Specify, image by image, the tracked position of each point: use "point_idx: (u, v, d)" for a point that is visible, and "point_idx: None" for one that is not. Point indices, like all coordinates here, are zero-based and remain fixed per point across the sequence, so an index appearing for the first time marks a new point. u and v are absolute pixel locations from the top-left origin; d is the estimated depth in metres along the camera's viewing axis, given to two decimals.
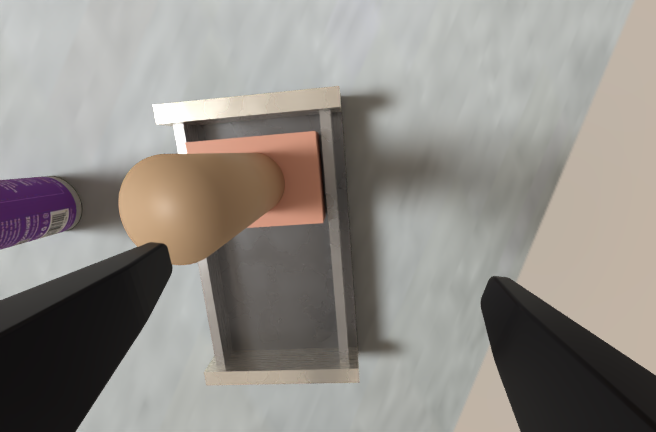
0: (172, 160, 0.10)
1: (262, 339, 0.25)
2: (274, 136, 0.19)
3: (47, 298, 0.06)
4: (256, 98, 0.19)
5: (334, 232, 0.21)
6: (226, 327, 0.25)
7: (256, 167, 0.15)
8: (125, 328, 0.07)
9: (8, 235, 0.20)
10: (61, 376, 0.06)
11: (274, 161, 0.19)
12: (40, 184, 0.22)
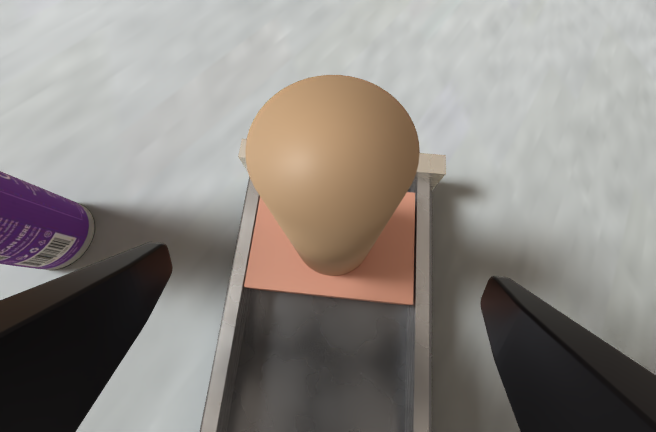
0: (352, 83, 0.07)
1: None
2: None
3: (47, 298, 0.06)
4: None
5: (423, 323, 0.15)
6: None
7: None
8: (125, 328, 0.07)
9: None
10: (61, 376, 0.06)
11: None
12: (63, 200, 0.18)
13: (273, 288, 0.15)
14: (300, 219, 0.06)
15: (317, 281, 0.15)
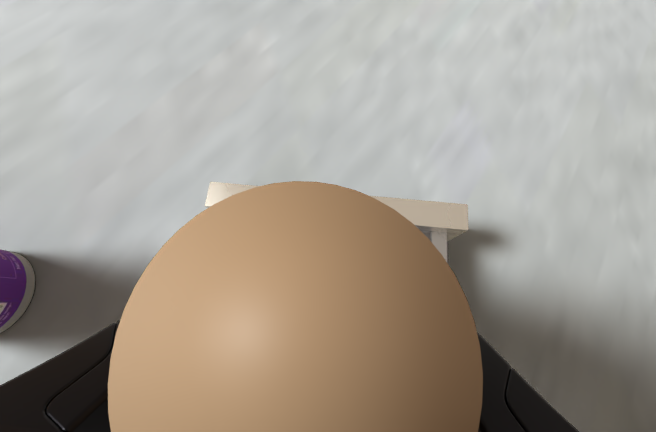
0: (339, 202, 0.04)
1: None
2: None
3: None
4: None
5: None
6: None
7: None
8: None
9: None
10: None
11: None
12: None
13: None
14: None
15: None
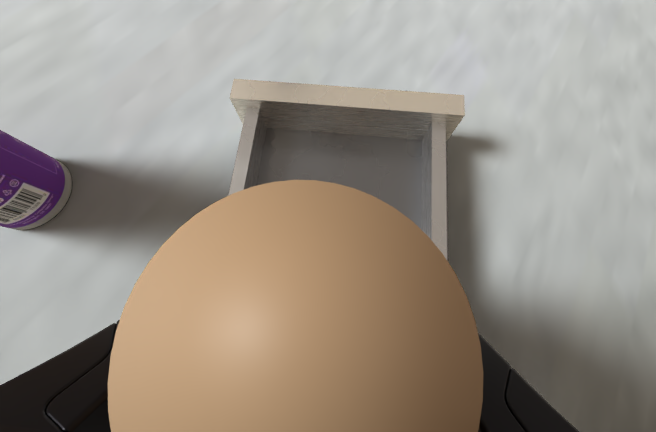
0: (339, 200, 0.04)
1: None
2: None
3: None
4: (362, 91, 0.15)
5: None
6: None
7: None
8: None
9: None
10: None
11: None
12: (34, 150, 0.16)
13: None
14: None
15: None
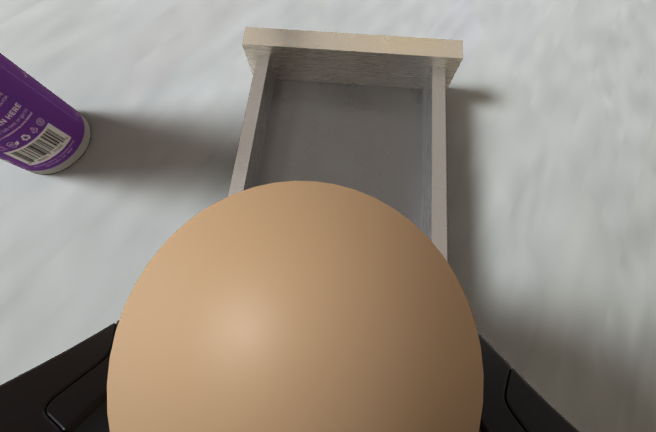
0: (339, 201, 0.04)
1: None
2: None
3: None
4: (366, 38, 0.16)
5: (440, 205, 0.14)
6: None
7: None
8: None
9: None
10: None
11: None
12: (57, 96, 0.17)
13: None
14: None
15: None
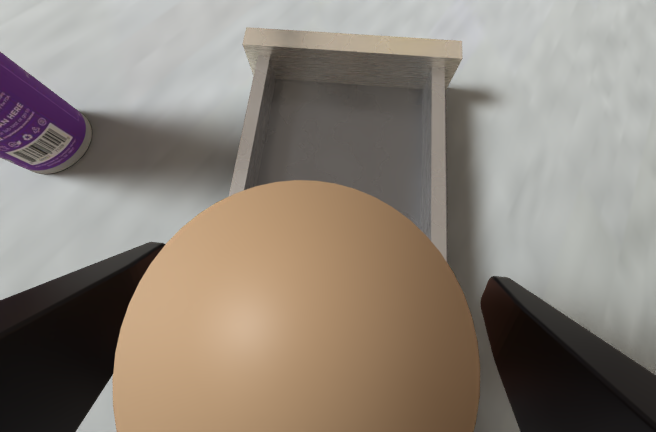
0: (339, 200, 0.04)
1: None
2: None
3: (47, 298, 0.06)
4: (366, 38, 0.17)
5: (439, 205, 0.14)
6: None
7: None
8: None
9: None
10: (61, 376, 0.06)
11: None
12: (58, 96, 0.18)
13: None
14: None
15: None
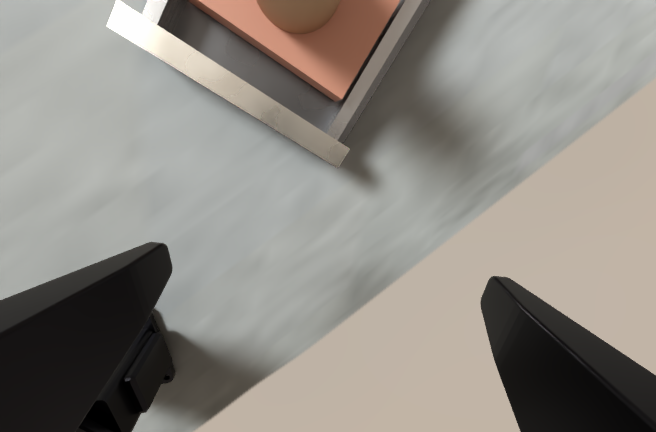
0: None
1: (228, 49, 0.16)
2: None
3: (47, 298, 0.06)
4: None
5: None
6: None
7: None
8: (125, 328, 0.07)
9: None
10: (61, 376, 0.06)
11: None
12: None
13: (209, 5, 0.13)
14: None
15: (259, 25, 0.14)
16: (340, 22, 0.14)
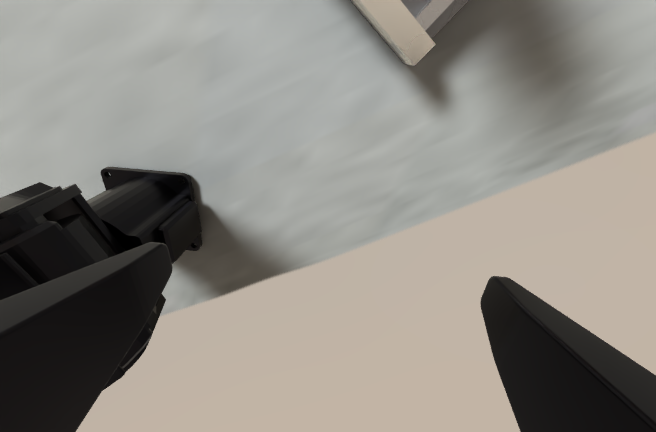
0: None
1: None
2: None
3: (47, 298, 0.06)
4: None
5: None
6: None
7: None
8: (125, 328, 0.07)
9: None
10: (61, 376, 0.06)
11: None
12: None
13: None
14: None
15: None
16: None
